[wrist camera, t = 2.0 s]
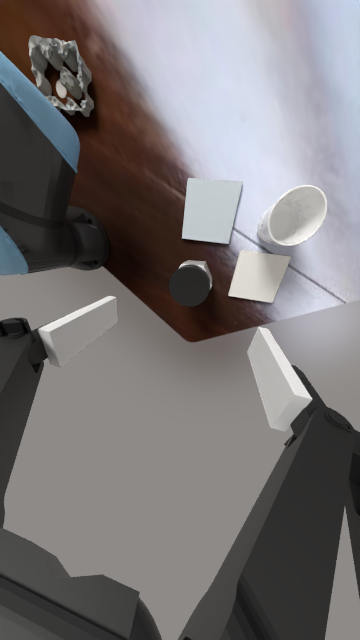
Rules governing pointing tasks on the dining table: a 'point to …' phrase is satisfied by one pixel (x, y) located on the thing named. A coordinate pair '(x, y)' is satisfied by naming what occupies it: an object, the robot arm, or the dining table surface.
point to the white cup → (293, 217)
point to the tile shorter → (258, 275)
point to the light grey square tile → (210, 209)
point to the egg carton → (56, 55)
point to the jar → (191, 283)
